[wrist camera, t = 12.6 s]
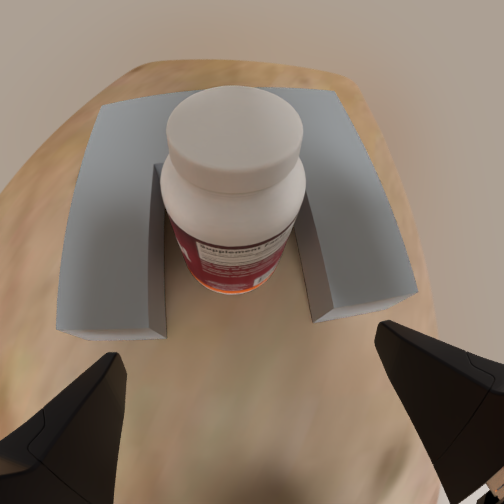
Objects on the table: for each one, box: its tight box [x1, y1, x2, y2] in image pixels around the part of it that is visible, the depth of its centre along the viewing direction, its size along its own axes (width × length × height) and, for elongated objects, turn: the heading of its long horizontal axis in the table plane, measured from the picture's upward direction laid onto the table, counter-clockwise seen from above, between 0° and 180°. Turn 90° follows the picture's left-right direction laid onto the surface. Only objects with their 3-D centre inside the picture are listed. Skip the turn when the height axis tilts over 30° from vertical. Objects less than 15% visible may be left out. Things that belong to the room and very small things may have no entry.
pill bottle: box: [160, 86, 306, 294], centre depth 14 cm, size 6×6×11 cm
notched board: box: [56, 87, 418, 340], centre depth 19 cm, size 18×20×4 cm
